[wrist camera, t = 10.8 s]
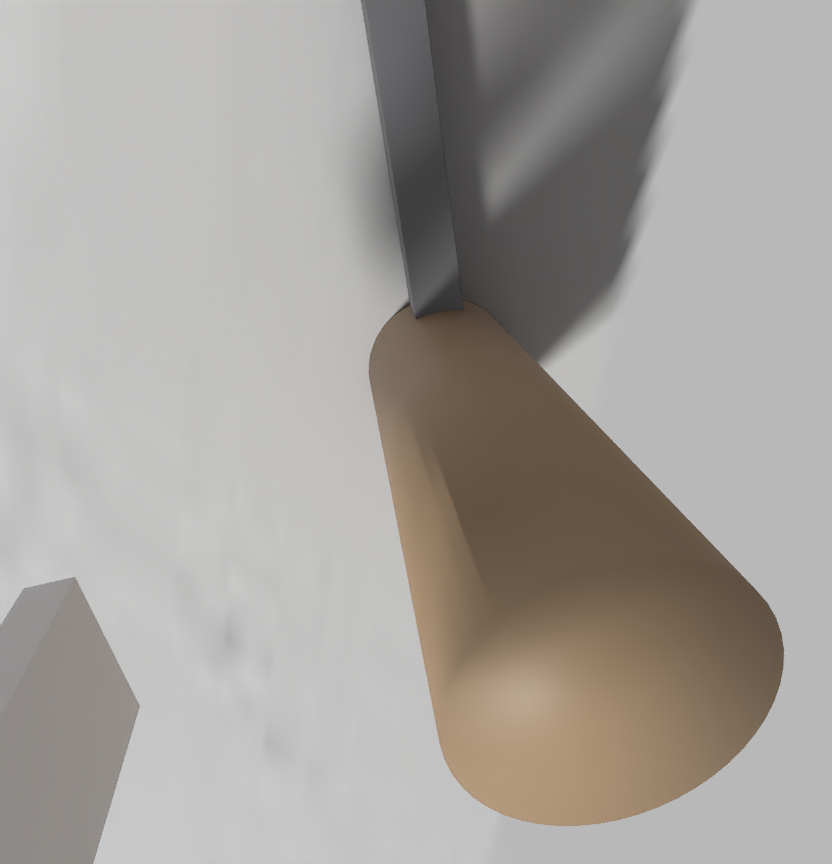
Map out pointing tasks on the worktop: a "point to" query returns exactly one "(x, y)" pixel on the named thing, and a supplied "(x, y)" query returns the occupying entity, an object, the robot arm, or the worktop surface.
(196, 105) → the worktop surface
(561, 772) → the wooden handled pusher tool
